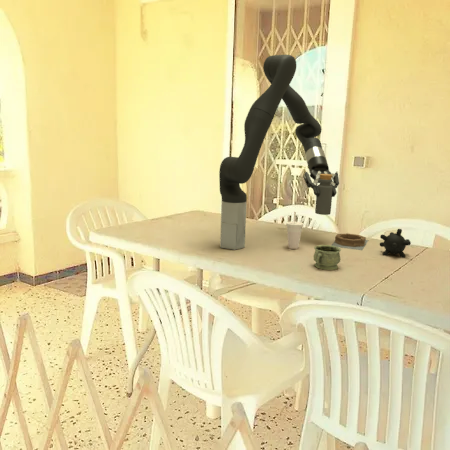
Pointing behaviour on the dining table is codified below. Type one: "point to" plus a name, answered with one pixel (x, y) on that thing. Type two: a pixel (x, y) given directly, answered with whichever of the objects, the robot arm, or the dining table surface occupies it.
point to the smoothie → (294, 233)
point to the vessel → (327, 257)
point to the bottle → (324, 195)
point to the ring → (350, 240)
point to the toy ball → (394, 243)
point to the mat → (349, 246)
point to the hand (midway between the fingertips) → (326, 195)
